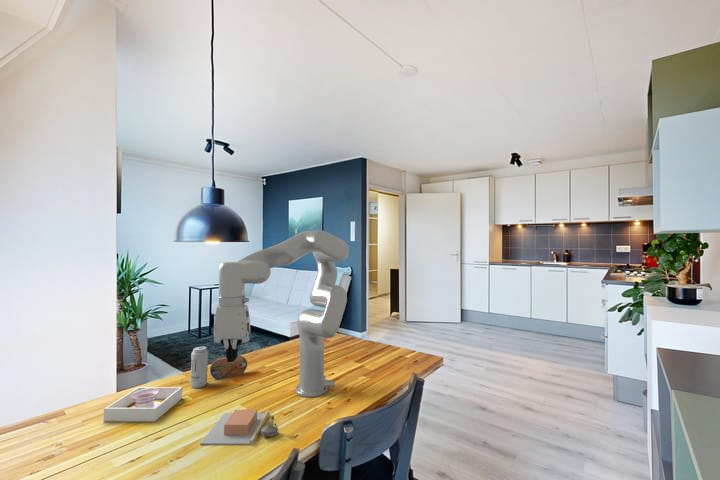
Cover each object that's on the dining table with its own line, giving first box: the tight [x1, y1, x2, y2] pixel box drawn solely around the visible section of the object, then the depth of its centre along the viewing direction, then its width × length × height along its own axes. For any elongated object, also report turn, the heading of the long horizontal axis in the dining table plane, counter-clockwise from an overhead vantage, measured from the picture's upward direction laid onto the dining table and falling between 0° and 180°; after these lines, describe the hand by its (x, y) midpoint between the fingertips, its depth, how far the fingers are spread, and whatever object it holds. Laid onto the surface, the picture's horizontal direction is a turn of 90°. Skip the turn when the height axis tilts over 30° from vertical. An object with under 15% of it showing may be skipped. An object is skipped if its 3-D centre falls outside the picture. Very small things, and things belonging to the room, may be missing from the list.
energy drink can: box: [190, 346, 209, 389], centre depth 130 cm, size 6×6×15 cm
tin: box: [209, 354, 248, 380], centre depth 140 cm, size 15×3×8 cm, turn 122°
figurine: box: [260, 415, 280, 439], centre depth 96 cm, size 5×4×6 cm
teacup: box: [130, 388, 162, 408], centre depth 109 cm, size 12×12×6 cm
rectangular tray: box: [103, 386, 183, 422], centre depth 110 cm, size 16×16×4 cm
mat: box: [200, 410, 270, 446], centre depth 99 cm, size 15×17×1 cm
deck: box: [224, 409, 258, 435], centre depth 99 cm, size 3×9×7 cm
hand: (231, 360), depth 100 cm, fingers closed
